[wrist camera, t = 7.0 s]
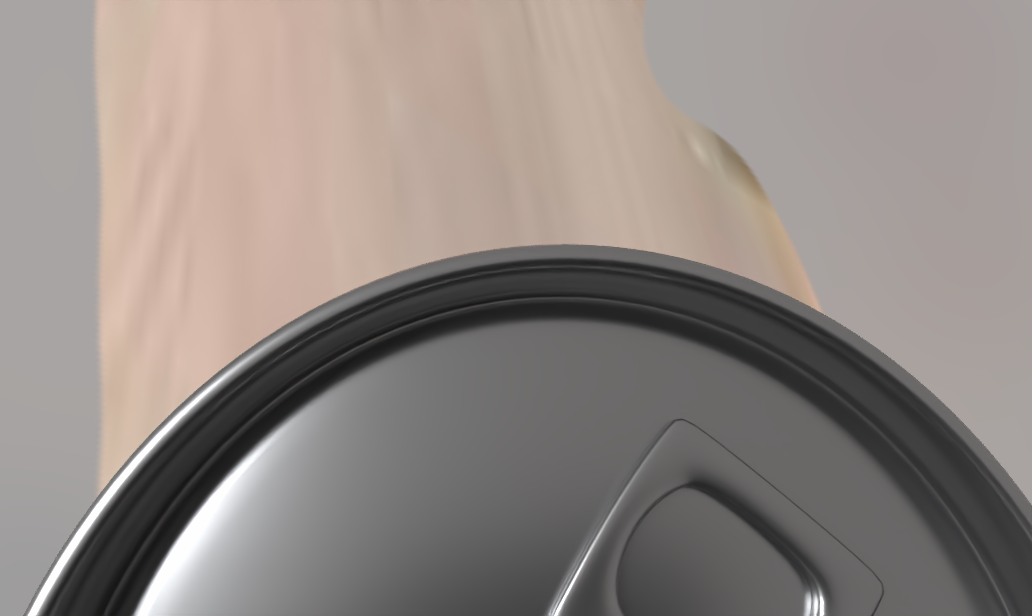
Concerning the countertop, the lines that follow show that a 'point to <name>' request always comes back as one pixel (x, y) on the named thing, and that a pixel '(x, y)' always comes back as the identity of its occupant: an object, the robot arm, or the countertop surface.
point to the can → (555, 462)
